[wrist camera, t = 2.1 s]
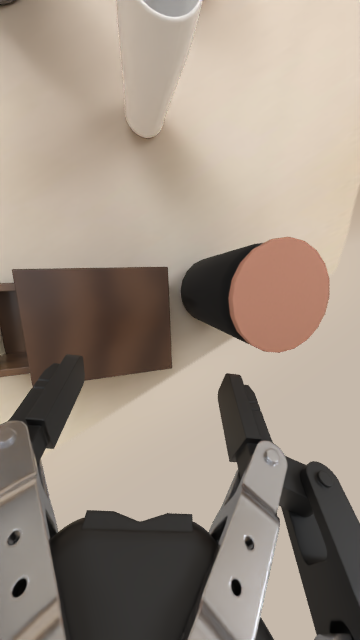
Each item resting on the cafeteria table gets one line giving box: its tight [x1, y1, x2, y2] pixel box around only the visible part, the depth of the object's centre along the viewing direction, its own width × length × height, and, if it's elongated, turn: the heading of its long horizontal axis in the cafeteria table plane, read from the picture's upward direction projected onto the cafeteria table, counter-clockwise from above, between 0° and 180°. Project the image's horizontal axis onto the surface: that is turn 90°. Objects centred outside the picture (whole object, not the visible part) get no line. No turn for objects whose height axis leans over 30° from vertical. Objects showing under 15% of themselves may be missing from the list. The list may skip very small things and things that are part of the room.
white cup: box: [116, 0, 203, 138], centre depth 22 cm, size 7×7×15 cm
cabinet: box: [12, 267, 172, 386], centre depth 28 cm, size 16×13×10 cm
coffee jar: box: [181, 237, 329, 353], centre depth 28 cm, size 11×11×18 cm
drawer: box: [0, 283, 30, 377], centre depth 25 cm, size 19×11×8 cm, turn 93°
